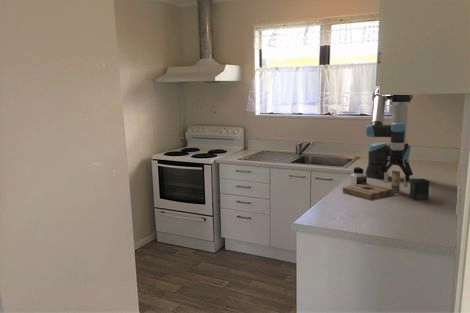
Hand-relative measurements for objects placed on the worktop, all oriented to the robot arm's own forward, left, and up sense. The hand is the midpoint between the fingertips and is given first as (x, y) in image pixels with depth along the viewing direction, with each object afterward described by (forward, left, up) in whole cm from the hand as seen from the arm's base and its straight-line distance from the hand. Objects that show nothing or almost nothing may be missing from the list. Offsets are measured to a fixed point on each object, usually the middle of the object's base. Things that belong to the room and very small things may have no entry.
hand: (395, 184), depth 231 cm
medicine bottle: (+8, -21, -4) cm, 23 cm away
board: (+17, -6, -4) cm, 18 cm away
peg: (0, 0, -4) cm, 4 cm away
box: (+4, +18, -4) cm, 19 cm away
